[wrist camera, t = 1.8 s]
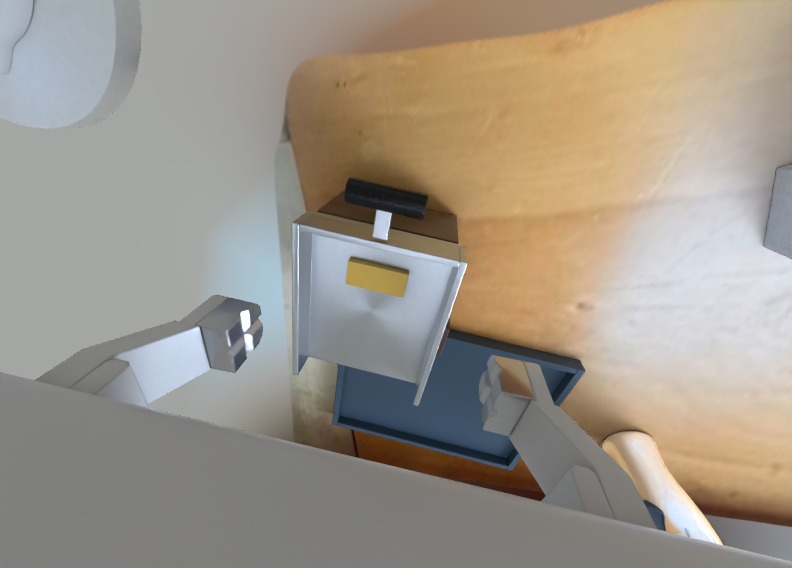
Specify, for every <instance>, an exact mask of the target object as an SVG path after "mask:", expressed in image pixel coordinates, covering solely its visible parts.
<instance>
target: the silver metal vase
mask: <svg viewBox="0 0 792 568" xmlns="http://www.w3.org/2000/svg"><path fill="white" fill-rule="evenodd" d="M602 449H603V450H604V451H605V452H606V453H607V454H608V455H609V456H610V457H611V458H612V459H613V460H614V461H615V462H616V463H617V464H618V465H619V466H620V467H621V468H622V469H623V470H624V471H625V472H627V473H628V474H629V475H630V476H631V478H632V480H633V482H634V484H635V486H636V488H637V490H638V492H639V494H640V496H641V498H642V500H643V502H644V504H645V506H646V508H647V510H648V512H649V514H650V516H651V518H652V520H653V522H654V524H655V526H656V528H657V530H661V531H666V532H670V533H674V534H678V535H682V536H686V537H691V538H695V539H699V540H703V541H707V542H712V543H716V544H720V545H724V546H725V544H724V543H723V541H722V540H721V539H720V537H719V535H718V534H717V532H716V531H715V529H714V528H713V526H712V525H711V524H710V522H709V521H708V520H707V518H706V517H705V516H704V514H703V513H702V512H701V510H700V509H699V508H698V507H697V506H696V504H695V503H694V502H693V501H692V499H691V498H690V497H689V496H688V495H687V493H686V492H685V491H684V490H683V489H682V487H681V486H680V485H679V484H678V483H677V481H676V480H675V479H674V478H673V476H672V475H671V473H670V472H669V471H668V469H667V468H666V466H665V464H664V462H663V460H662V458H661V456H660V453H659V451H658V448H657V445H656V443H655V441H654V440H653V438H652V437H650V436H649V435H647V434H645V433H642V432H638V431H622V432H618V433H615V434H612V435H610V436H608V437H607V438H606V439H605V440H604V441H603V443H602Z"/></svg>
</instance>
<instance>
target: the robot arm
mask: <svg viewBox="0 0 792 568" xmlns="http://www.w3.org/2000/svg"><path fill="white" fill-rule="evenodd" d="M32 11H33V0H0V74H2V75H6V74H8V73H9V71H10V68H11V62H12V50H13V47H14V45H15V44H16V42H17V41H18V40H19V39H20V38H21V37H22V36H23V35H24V33H25V32H26V30H27V28H28V26H29V24H30V21H31V17H32ZM260 315H261V309H260V306H259V305H258V304H254V303H250V302H246V301H242V300H238V299H234V298H229V297H224V296H220V295H214V296H212V297H210V298H209V299H208V300H207V301H205V302H204V303H203V304H201V305H200V306H199V307H198V308H196V309H195V310H194V311H192V312H191V313H190V314H189V315H187V316H186V317H185V318H183V319H182V320H181V321H180V322H179V321H172V322H169V323H166V324H163V325H160V326H156V327H153V328H150V329H146V330H143V331H140V332H137V333H134V334H131V335H127V336H124V337H121V338H117V339H114V340H111V341H108V342H104V343H101V344H98V345H95V346H91V347H88V348H85V349H82V350H80V351H79V352H77V353H76V354H74V355H73V356H71V357H70V358H68V359H67V360H65V361H63V362H62V363H60V364H59V365H57V366H56V367H54V368H53V369H51V370H50V371H48V372H47V373H45V374H43V375H42V376H40V377H39V378H37V379H36V380H30V379H26V378H22V377H18V376H13V375H9V374H5V373H1V372H0V568H792V561H787V560H783V559H779V558H775V557H770V556H766V555H762V554H758V553H754V552H749V551H745V550H741V549H736V548H733V547H728V546H724V545H720V544H716V543H712V542H707V541H703V540H699V539H695V538H691V537H686V536H682V535H678V534H674V533H670V532H666V531H661V530H657V528H656V526H655V524H654V522H653V520H652V518H651V516H650V514H649V512H648V510H647V508H646V506H645V504H644V502H643V500H642V498H641V496H640V494H639V492H638V490H637V488H636V486H635V484H634V482H633V480H632V478H631V476H630V475H629V474H628V473H627V472H625V471H624V470H623V469H622V468H621V467H620V466H619V465H618V464H617V463H616V462H615V461H614V460H613V459H612V458H611V457H610V456H609V455H608V454H607V453H606V452H605V451H604V450H603V449H602V448H601V447H600V446H599V445H598V444H597V443H596V442H595V441H594V440H593V439H592V438H591V437H590V436H589V435H588V434H587V433H586V432H585V431H584V430H583V429H582V428H581V427H580V426H579V425H578V424H577V423H576V422H575V421H574V420H573V419H572V418H571V417H570V416H569V415H568V414H567V413H566V412H565V411H563V410H562V409H561V408H560V407H559V406H556V405H554V403H553V400H552V398H551V395H550V392H549V390H548V387H547V384H546V382H545V379H544V376H543V374H542V371H541V368H540V366H539V365H538V364H536V363H531V362H525V361H519V360H514V359H509V358H505V357H500V356H495V355H491V356H490V358H489V360H488V362H487V366H488V370H486V371H484V372H483V373H482V376H481V378H480V383H479V400H480V401H481V403H482V404H483V407H482V409H481V411H480V412H481V420H482V428H483V430H485V431H489V432H493V433H497V434H501V435H505V436H509V439H510V441H511V442H512V444H513V445H514V447H515V448H516V450H517V451H518V453H519V454H520V456H521V458H522V459H523V461H524V462H525V464H526V465H527V467H528V468H529V470H530V472H531V473H532V475H533V476H534V478H535V479H536V481H537V482H538V484H539V486H540V487H541V489H542V490H543V492H544V493H545V495H546V497H545V498H544V499H543V500H542V501H541V502H540V501H536V500H531V499H528V498H524V497H519V496H515V495H511V494H507V493H503V492H499V491H494V490H490V489H486V488H481V487H478V486H473V485H469V484H465V483H461V482H457V481H453V480H447V479H444V478H440V477H436V476H432V475H427V474H423V473H419V472H415V471H411V470H406V469H402V468H398V467H394V466H390V465H385V464H381V463H377V462H373V461H368V460H364V459H360V458H356V457H352V456H347V455H343V454H339V453H335V452H331V451H327V450H322V449H318V448H314V447H310V446H306V445H302V444H297V443H293V442H289V441H285V440H281V439H277V438H273V437H268V436H264V435H260V434H255V433H252V432H247V431H243V430H239V429H235V428H230V427H226V426H222V425H218V424H214V423H210V422H205V421H202V420H197V419H193V418H189V417H185V416H181V415H176V414H172V413H168V412H164V411H160V410H155V409H151V408H150V407H149V405H148V404H149V403H150V402H152V401H154V400H156V399H158V398H159V397H161V396H163V395H165V394H167V393H168V392H170V391H172V390H173V389H176V388H177V387H179V386H181V385H183V384H185V383H187V382H188V381H190V380H192V379H194V378H196V377H197V376H199V375H201V374H203V373H205V372H206V371H208V370H210V368H213V369H218V370H223V371H228V372H233V373H235V372H236V371H237V370H238V369H239V367H240V366H241V365H242V363H243V362H244V361H245V360H246V358H247V357H246V353H247V352H249V351H252V350H254V349H255V347H256V346H257V345H258V344H259V342H260V339H261V337H262V332H263V326H262V323H261V322H260V321H259V319H258V317H259V316H260Z"/></svg>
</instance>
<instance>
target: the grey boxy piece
mask: <svg viewBox="0 0 792 568" xmlns="http://www.w3.org/2000/svg"><path fill="white" fill-rule="evenodd" d="M764 247H765V248H767V249H770V250H772V251H774V252H777V253H779V254H781V255H784V256H786V257H788V258H791V259H792V164H790V165H787V166H783V167H780V168H777V170H776V176H775V182H774V188H773V194H772V200H771V206H770V212H769V219H768V225H767V231H766V237H765V243H764Z"/></svg>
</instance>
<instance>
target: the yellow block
mask: <svg viewBox="0 0 792 568" xmlns="http://www.w3.org/2000/svg"><path fill="white" fill-rule="evenodd" d="M408 275H409V271H405V270H401V269H397V268H392V267H388V266H384V265H380V264H375V263H371V262H367V261H363V260H358V259H354V258H350V259H349V260H348V265H347V275H346V284H347V285H351V286H355V287H360V288H364V289H368V290H372V291H376V292H381V293H385V294H389V295H393V296H397V297H402V298H403V297H404V293H405V288H406V284H407V280H408Z"/></svg>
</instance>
